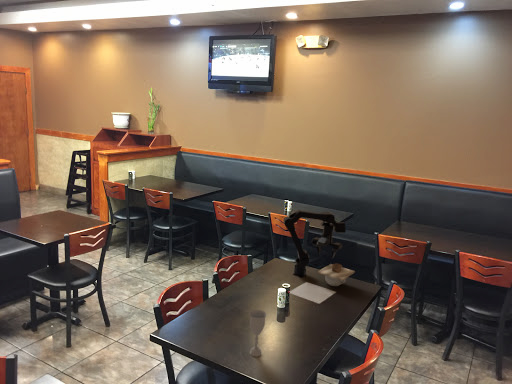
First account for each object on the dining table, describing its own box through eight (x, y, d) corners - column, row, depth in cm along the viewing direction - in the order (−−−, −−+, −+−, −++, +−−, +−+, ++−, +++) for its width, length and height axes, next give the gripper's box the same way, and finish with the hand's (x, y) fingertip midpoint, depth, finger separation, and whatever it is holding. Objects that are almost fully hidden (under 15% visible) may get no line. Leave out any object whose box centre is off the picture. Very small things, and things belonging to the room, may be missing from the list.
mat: (288, 292, 234) (288, 292, 234) (306, 282, 250) (306, 281, 249) (319, 304, 222) (319, 303, 222) (336, 292, 238) (336, 292, 238)
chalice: (263, 348, 178) (266, 310, 175) (264, 357, 171) (267, 318, 168) (246, 348, 178) (248, 309, 174) (247, 357, 171) (249, 317, 168)
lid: (317, 272, 245) (318, 264, 244) (330, 265, 257) (331, 257, 256) (342, 280, 235) (343, 272, 235) (354, 272, 248) (355, 264, 247)
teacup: (321, 281, 252) (322, 269, 250) (335, 279, 256) (336, 267, 255) (334, 291, 239) (335, 278, 238) (349, 288, 244) (351, 276, 242)
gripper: (308, 231, 255) (306, 255, 258) (335, 238, 244) (333, 263, 247) (317, 228, 263) (315, 251, 266) (343, 234, 252) (341, 258, 255)
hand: (325, 256), depth 259 cm, fingers open, 9 cm apart
